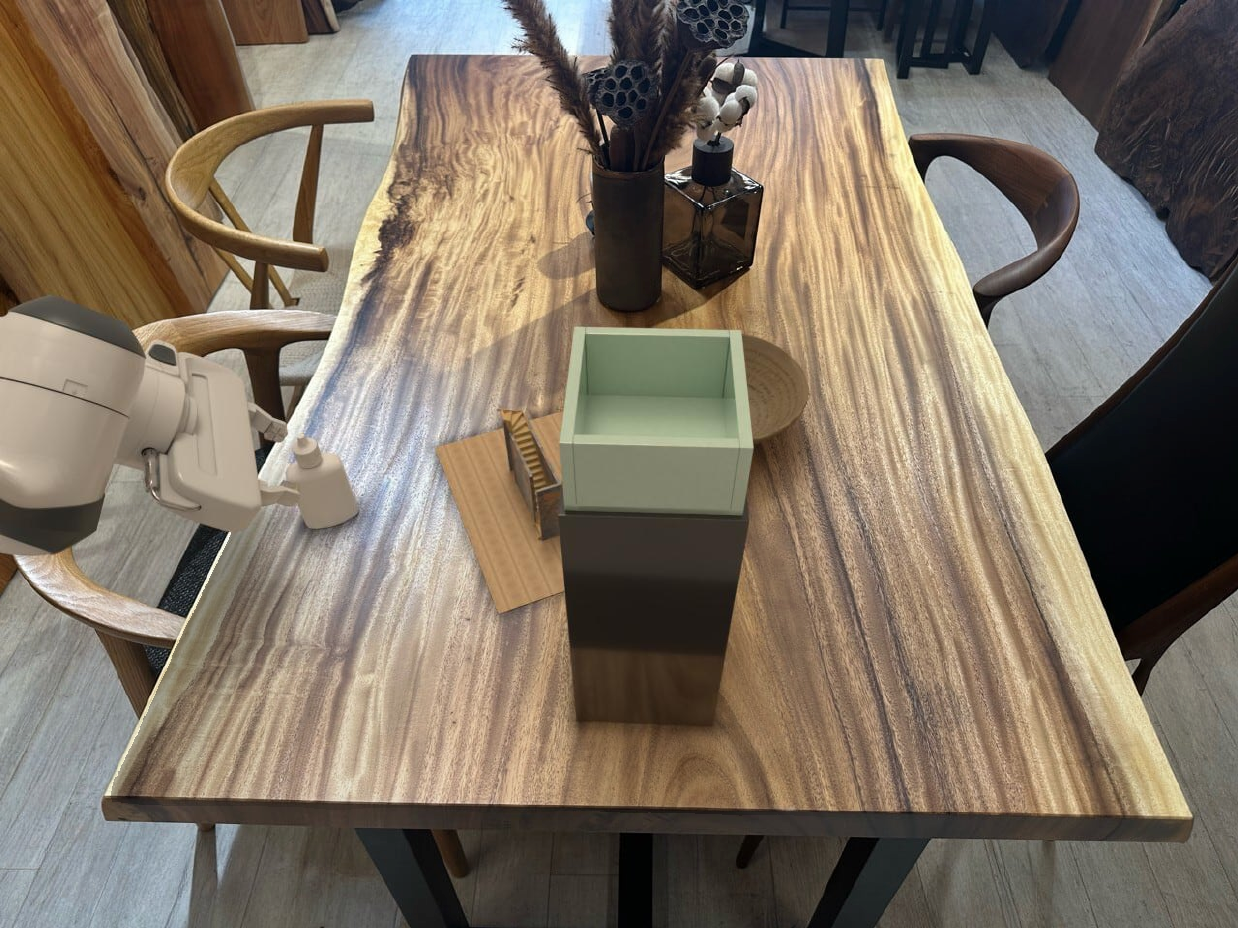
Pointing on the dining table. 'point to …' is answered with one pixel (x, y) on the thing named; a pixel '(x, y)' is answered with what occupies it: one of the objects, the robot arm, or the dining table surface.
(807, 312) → the dining table surface
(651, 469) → the square pedestal with tray
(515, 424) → the ruin model on sheet
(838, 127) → the dining table surface
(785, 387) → the bowl
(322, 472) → the eye dropper bottle
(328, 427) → the dining table surface
